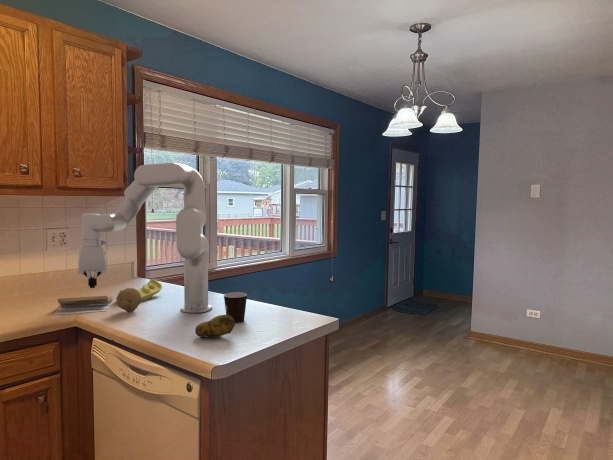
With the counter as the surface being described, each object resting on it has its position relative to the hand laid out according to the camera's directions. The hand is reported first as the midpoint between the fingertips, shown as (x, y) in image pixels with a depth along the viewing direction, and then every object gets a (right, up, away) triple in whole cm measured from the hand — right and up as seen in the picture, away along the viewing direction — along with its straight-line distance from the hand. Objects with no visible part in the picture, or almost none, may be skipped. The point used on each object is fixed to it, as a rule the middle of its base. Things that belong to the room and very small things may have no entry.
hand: (92, 287), depth 178 cm
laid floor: (-5, -9, +3) cm, 10 cm away
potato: (+59, -12, -36) cm, 70 cm away
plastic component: (+13, -8, +18) cm, 24 cm away
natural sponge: (+17, -10, -6) cm, 21 cm away
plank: (-4, -6, +1) cm, 7 cm away
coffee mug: (+62, -11, -18) cm, 65 cm away
